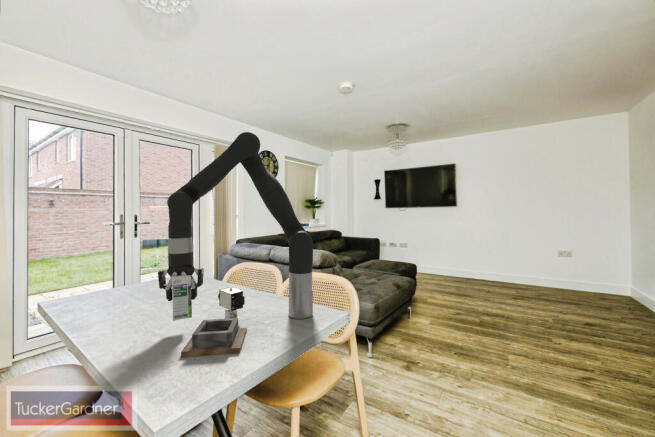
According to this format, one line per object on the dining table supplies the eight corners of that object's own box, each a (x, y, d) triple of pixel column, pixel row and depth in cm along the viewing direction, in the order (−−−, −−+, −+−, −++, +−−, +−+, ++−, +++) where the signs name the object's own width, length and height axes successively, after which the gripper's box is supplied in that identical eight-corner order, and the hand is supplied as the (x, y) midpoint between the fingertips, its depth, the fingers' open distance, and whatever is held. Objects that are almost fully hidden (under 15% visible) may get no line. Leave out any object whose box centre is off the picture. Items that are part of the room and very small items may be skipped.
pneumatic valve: (233, 324, 99) (233, 291, 99) (217, 316, 107) (217, 286, 106) (247, 320, 103) (247, 288, 103) (230, 312, 111) (230, 283, 111)
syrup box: (172, 321, 90) (171, 277, 89) (173, 315, 95) (172, 273, 95) (192, 317, 92) (191, 274, 92) (191, 312, 98) (190, 271, 97)
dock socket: (246, 332, 93) (246, 315, 93) (240, 352, 79) (240, 334, 79) (196, 335, 91) (196, 318, 91) (180, 357, 77) (180, 337, 77)
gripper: (206, 248, 98) (207, 295, 98) (162, 250, 96) (163, 297, 96) (200, 251, 90) (201, 302, 91) (152, 253, 88) (153, 304, 89)
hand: (182, 299), depth 93 cm, fingers closed on syrup box, 6 cm apart
